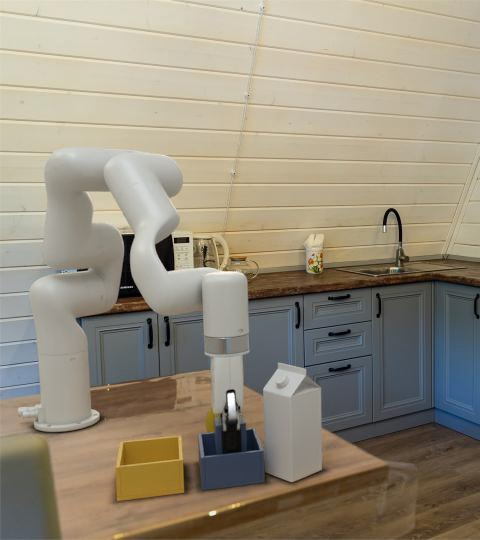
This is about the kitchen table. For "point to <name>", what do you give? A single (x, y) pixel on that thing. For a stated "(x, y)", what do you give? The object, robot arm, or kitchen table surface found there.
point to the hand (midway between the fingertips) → (230, 446)
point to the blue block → (219, 427)
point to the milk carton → (292, 424)
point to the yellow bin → (149, 468)
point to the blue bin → (230, 463)
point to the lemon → (210, 420)
